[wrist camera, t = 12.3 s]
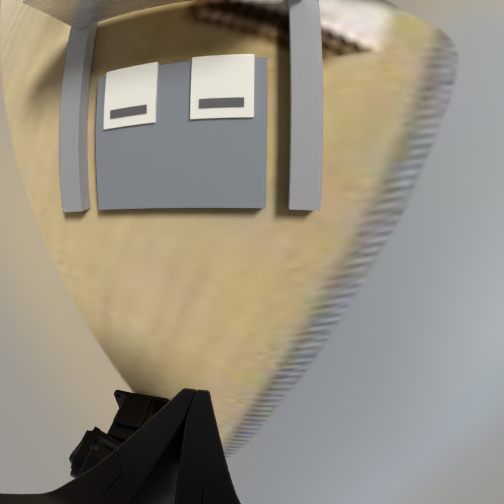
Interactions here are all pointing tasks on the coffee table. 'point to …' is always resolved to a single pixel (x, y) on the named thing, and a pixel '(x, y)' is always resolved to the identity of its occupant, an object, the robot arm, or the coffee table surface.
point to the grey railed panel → (191, 127)
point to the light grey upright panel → (92, 9)
